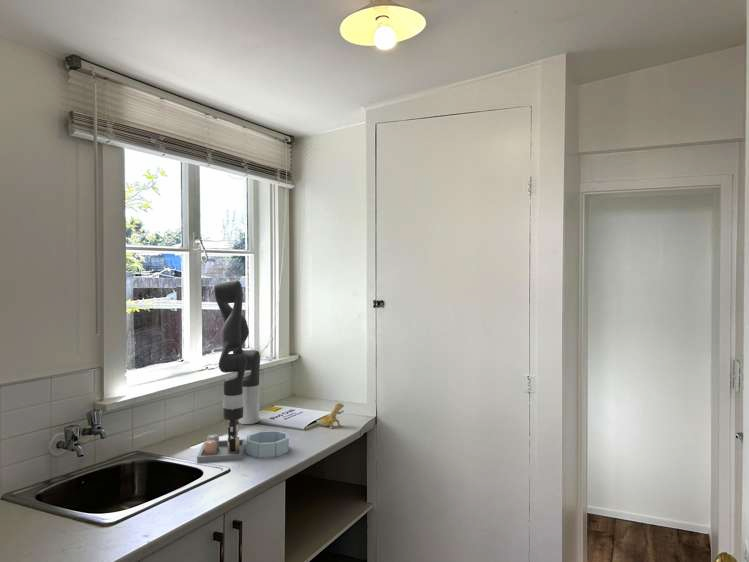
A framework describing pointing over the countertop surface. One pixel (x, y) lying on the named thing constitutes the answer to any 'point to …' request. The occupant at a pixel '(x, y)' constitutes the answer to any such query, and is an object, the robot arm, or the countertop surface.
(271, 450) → the bowl
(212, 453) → the pebble rust
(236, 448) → the pebble sand
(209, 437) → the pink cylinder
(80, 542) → the countertop surface
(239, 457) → the tray
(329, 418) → the toy
